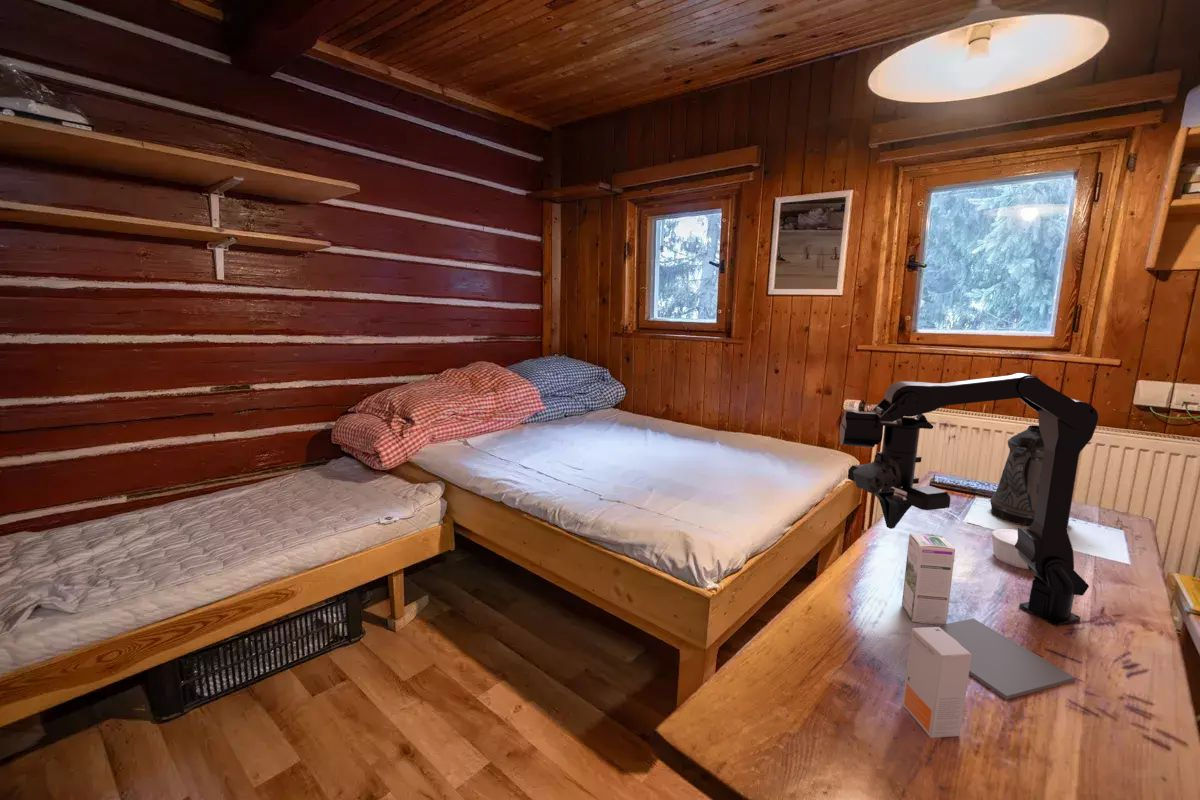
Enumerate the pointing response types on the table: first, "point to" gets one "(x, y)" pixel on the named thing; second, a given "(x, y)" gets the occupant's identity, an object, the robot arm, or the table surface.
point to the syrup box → (928, 578)
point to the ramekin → (1007, 547)
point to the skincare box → (936, 681)
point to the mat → (1004, 661)
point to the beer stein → (1020, 478)
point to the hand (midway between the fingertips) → (890, 527)
